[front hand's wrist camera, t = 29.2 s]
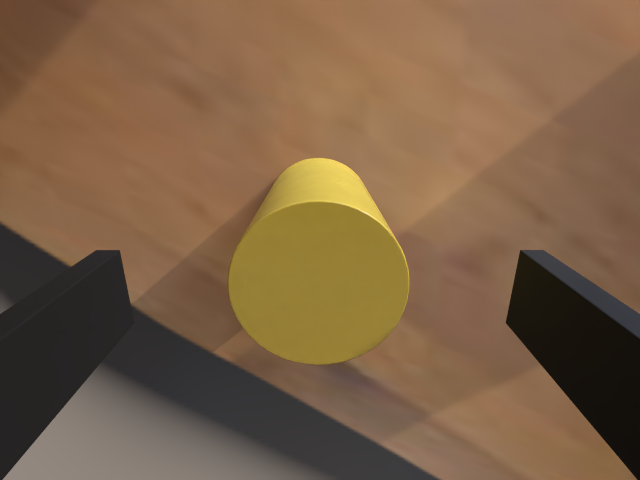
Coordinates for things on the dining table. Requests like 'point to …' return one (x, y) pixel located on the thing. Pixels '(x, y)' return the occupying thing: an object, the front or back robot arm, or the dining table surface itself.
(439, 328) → the dining table surface
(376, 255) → the can
